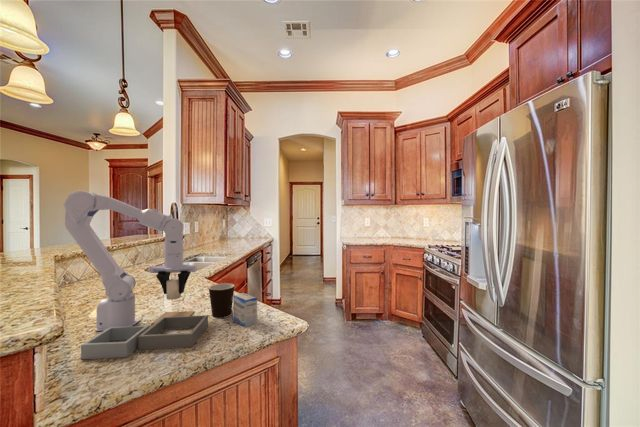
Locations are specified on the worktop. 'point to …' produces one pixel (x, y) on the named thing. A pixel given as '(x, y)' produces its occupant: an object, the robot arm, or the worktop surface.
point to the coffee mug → (221, 299)
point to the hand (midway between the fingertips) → (174, 293)
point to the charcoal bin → (181, 340)
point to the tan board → (173, 315)
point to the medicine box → (245, 309)
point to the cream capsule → (172, 289)
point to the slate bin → (106, 349)
